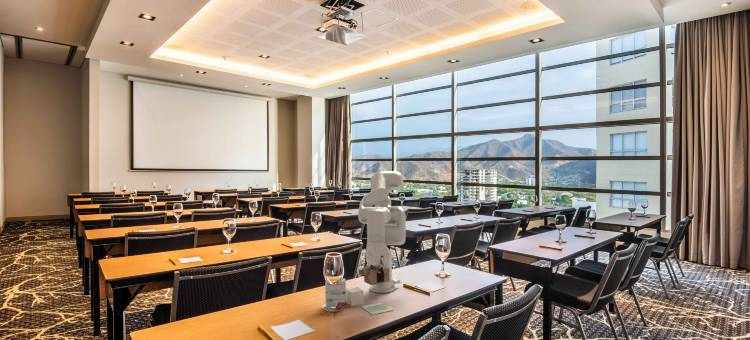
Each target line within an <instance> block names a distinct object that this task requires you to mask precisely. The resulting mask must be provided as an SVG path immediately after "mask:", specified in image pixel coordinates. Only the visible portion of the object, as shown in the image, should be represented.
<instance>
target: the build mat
mask: <svg viewBox="0 0 750 340" xmlns="http://www.w3.org/2000/svg"><path fill="white" fill-rule="evenodd" d="M361 308H362V309H363V311H366V312H367V313H369V314H370V315H372V316H375V315H379V314H383V313H388V312H393V311H394V308H391V306H388V305H387V304H385V303H383V302H378V303H372V304H368V305H364V306H363V305H362V306H361Z"/></svg>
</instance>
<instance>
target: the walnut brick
mask: <svg viewBox="0 0 750 340" xmlns="http://www.w3.org/2000/svg"><path fill="white" fill-rule="evenodd" d="M379 268H381V267H379ZM377 273H378V270H377V266H376V267H375V266H372V267H369V266H367V267H364V268H363V282H364V283H366V284H368V285H370V286H371V285H375V284H380V283H385V282H389V267H386V268H385V272H384V282H379V283H378V282H377Z"/></svg>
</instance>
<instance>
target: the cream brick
mask: <svg viewBox="0 0 750 340" xmlns="http://www.w3.org/2000/svg"><path fill="white" fill-rule="evenodd" d="M364 298H365V296H364V290H363V289H362V288H361V287H358V286H356V287H350V288H346V304H348V305H349V306H350V307H353V306H359V305H364V304H365V303H364V301H365V299H364Z"/></svg>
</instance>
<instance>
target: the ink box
mask: <svg viewBox="0 0 750 340" xmlns="http://www.w3.org/2000/svg"><path fill="white" fill-rule="evenodd" d="M341 279H342V280H341V281H339V282H338V283H337V284H336V285H332V284H330V282H329V281H327V279H326V280H325V282H324V283H325V285H324V286H325V287H324V288H325V309H326V308H328V309H332V308H331V307H336V308H335V309H346V307H347V303H346V289H347V288H346V284H347V283H346V280H347V279H346V278H341ZM328 282H329V283H328Z"/></svg>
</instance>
